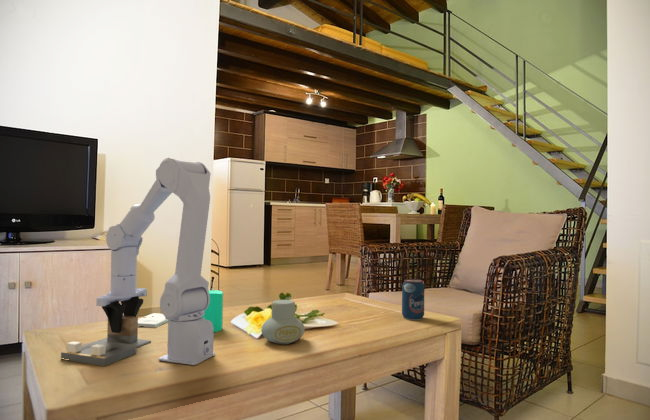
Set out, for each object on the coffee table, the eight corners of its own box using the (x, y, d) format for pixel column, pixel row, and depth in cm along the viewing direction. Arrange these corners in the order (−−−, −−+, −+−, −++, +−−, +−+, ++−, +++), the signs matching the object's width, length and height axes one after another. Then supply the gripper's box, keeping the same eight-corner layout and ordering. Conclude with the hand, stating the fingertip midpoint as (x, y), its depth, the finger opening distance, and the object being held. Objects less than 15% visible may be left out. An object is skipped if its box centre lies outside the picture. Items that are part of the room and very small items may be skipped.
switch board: (135, 353, 100) (135, 346, 100) (104, 366, 92) (104, 358, 92) (94, 347, 104) (94, 341, 104) (60, 359, 96) (61, 352, 96)
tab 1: (81, 350, 97) (81, 342, 97) (75, 352, 95) (75, 344, 95) (73, 349, 97) (73, 341, 98) (66, 351, 96) (66, 343, 96)
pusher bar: (137, 341, 108) (137, 317, 108) (130, 344, 106) (130, 319, 106) (114, 338, 111) (115, 314, 111) (107, 341, 108) (107, 316, 108)
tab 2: (105, 353, 95) (105, 345, 95) (99, 355, 93) (99, 347, 93) (96, 352, 96) (96, 344, 96) (90, 354, 94) (90, 346, 94)
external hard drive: (176, 319, 136) (155, 329, 123) (151, 318, 137) (128, 328, 125) (176, 314, 136) (155, 323, 123) (151, 313, 137) (128, 322, 125)
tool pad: (150, 342, 109) (150, 340, 109) (133, 348, 104) (133, 347, 104) (112, 337, 113) (112, 335, 113) (93, 343, 107) (93, 342, 107)
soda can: (412, 321, 135) (413, 282, 135) (397, 317, 140) (397, 279, 140) (428, 319, 138) (429, 280, 138) (413, 314, 144) (413, 278, 144)
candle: (206, 333, 118) (207, 288, 118) (196, 328, 123) (197, 285, 123) (226, 329, 122) (227, 286, 122) (216, 325, 126) (216, 283, 127)
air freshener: (265, 347, 106) (266, 306, 106) (258, 338, 114) (258, 300, 114) (308, 343, 110) (309, 303, 110) (298, 335, 118) (298, 297, 118)
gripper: (132, 270, 117) (131, 322, 117) (86, 277, 103) (85, 336, 103) (153, 272, 114) (152, 324, 114) (110, 279, 101) (109, 339, 101)
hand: (122, 330), depth 108 cm, fingers open, 4 cm apart
